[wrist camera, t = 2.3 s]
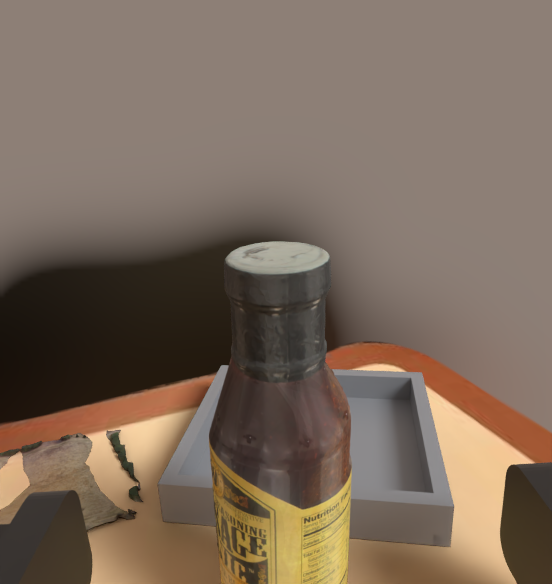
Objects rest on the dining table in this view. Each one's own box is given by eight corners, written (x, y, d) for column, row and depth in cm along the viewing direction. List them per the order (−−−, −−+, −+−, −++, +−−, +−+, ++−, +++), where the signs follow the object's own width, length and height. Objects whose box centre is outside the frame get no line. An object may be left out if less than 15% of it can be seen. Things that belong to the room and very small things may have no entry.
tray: (162, 521, 33) (157, 483, 32) (223, 393, 48) (221, 365, 47) (450, 546, 30) (454, 506, 29) (420, 402, 45) (421, 372, 44)
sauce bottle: (212, 593, 28) (173, 242, 21) (315, 556, 30) (308, 225, 23) (249, 717, 22) (211, 286, 15) (374, 660, 24) (387, 259, 18)
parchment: (151, 517, 34) (149, 505, 34) (-78, 599, 29) (-83, 586, 28) (119, 424, 44) (117, 414, 44) (-53, 472, 39) (-56, 461, 39)
